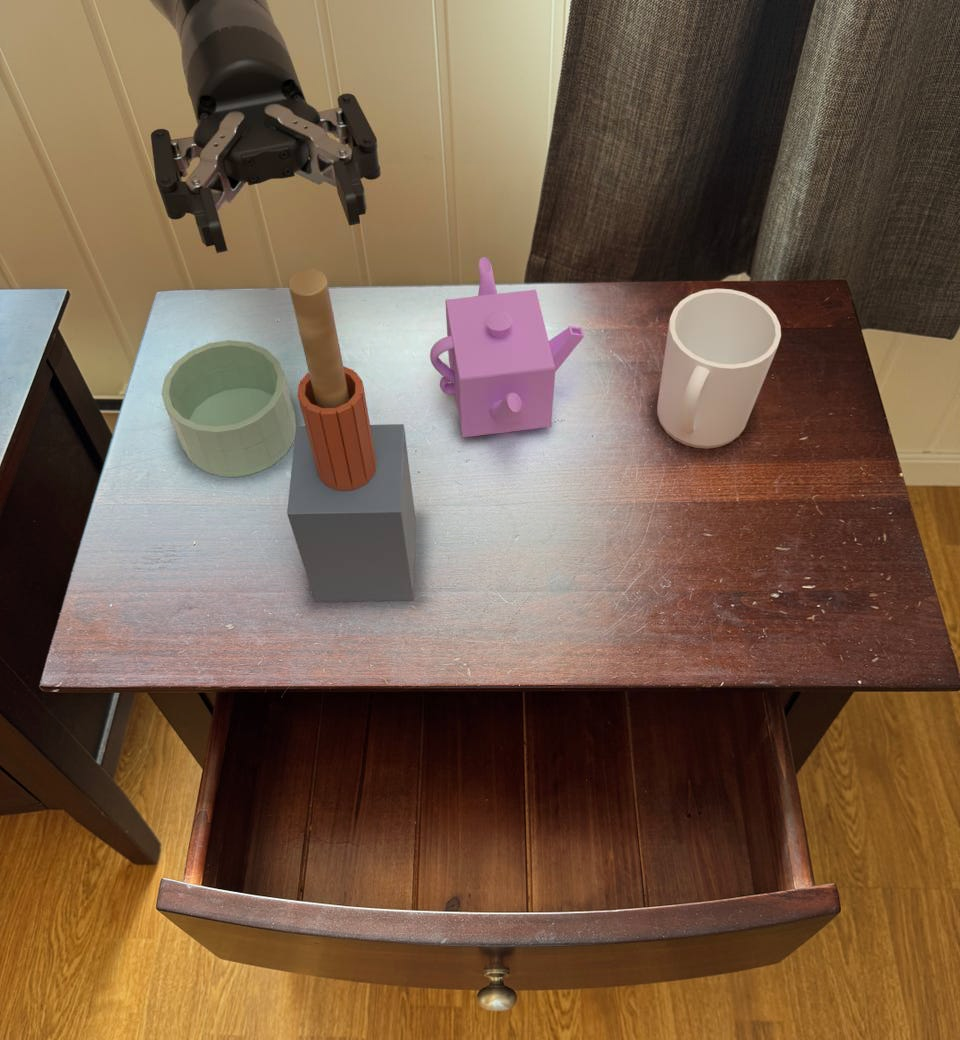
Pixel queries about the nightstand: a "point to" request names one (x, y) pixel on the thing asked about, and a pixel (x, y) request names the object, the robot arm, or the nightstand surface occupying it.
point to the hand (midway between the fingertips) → (287, 226)
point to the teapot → (500, 359)
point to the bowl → (230, 408)
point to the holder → (352, 501)
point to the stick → (319, 337)
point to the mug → (715, 365)
